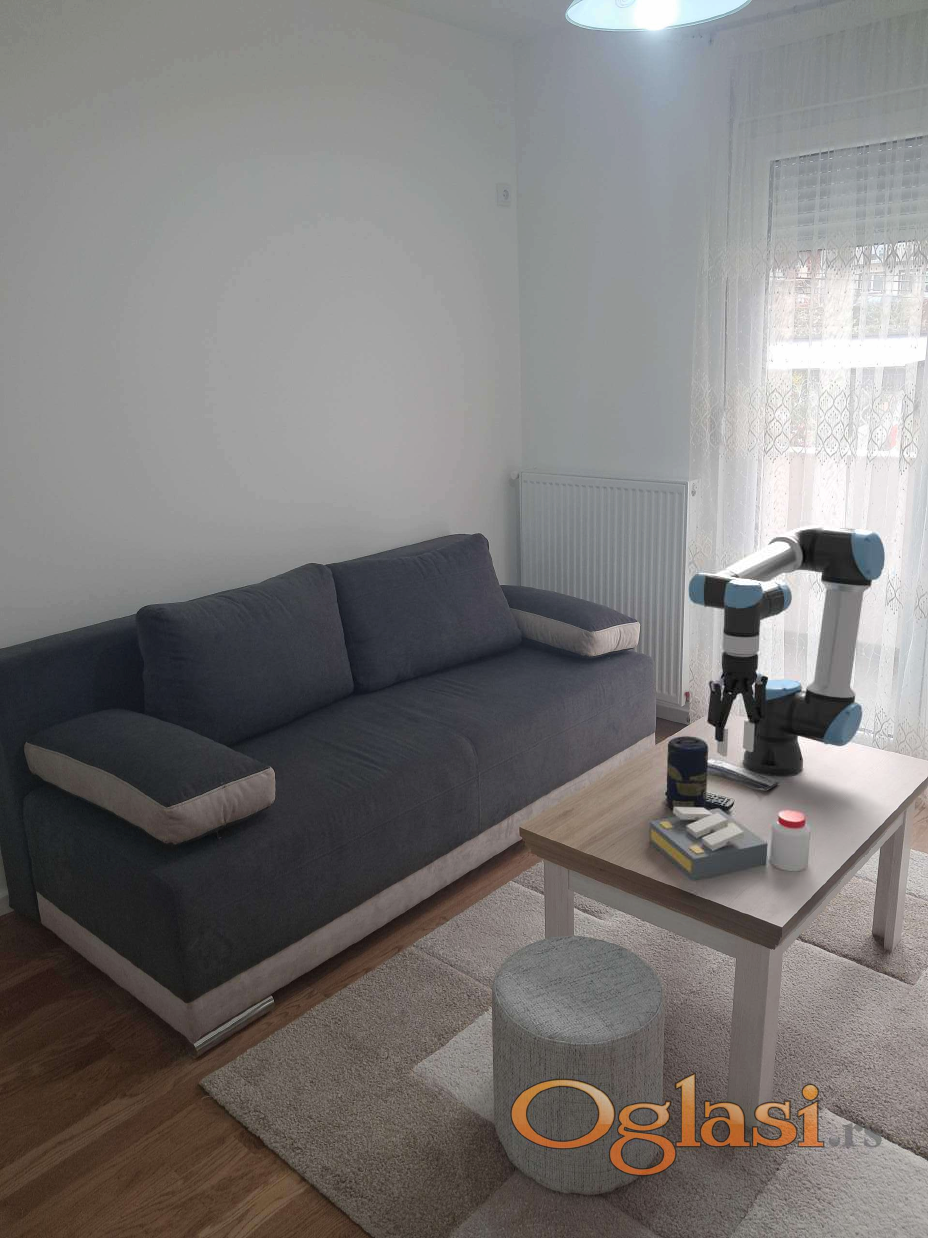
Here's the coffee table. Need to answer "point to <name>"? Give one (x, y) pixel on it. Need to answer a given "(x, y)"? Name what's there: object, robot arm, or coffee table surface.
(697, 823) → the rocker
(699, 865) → the switch unit
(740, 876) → the coffee table surface
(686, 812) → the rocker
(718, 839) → the block
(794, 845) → the pill bottle
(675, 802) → the canister
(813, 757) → the coffee table surface
